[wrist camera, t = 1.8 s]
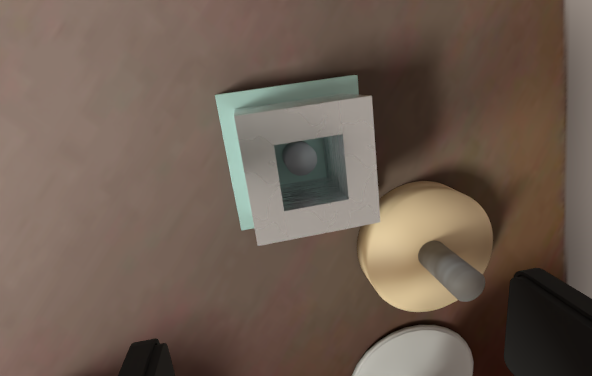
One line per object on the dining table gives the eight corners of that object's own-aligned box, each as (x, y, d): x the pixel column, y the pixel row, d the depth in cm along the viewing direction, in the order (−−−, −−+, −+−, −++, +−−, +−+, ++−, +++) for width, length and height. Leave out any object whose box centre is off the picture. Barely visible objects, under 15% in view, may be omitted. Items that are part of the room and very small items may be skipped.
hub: (351, 193, 27) (389, 228, 20) (473, 171, 28) (546, 197, 22) (361, 305, 30) (397, 367, 23) (471, 280, 31) (535, 334, 24)
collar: (234, 109, 22) (233, 116, 17) (343, 93, 23) (371, 95, 18) (253, 214, 24) (257, 246, 19) (352, 195, 25) (380, 222, 20)
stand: (216, 94, 24) (213, 95, 20) (348, 75, 25) (365, 74, 21) (240, 219, 26) (241, 239, 23) (358, 198, 27) (375, 213, 24)
